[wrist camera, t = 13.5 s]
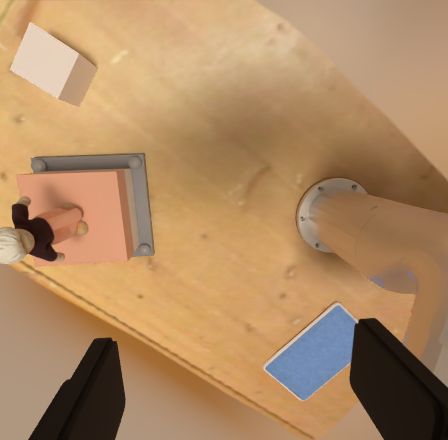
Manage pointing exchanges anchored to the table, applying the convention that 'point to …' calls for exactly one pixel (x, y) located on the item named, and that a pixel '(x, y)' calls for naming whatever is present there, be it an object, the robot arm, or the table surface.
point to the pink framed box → (94, 205)
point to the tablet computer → (315, 353)
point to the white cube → (53, 66)
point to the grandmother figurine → (39, 232)
